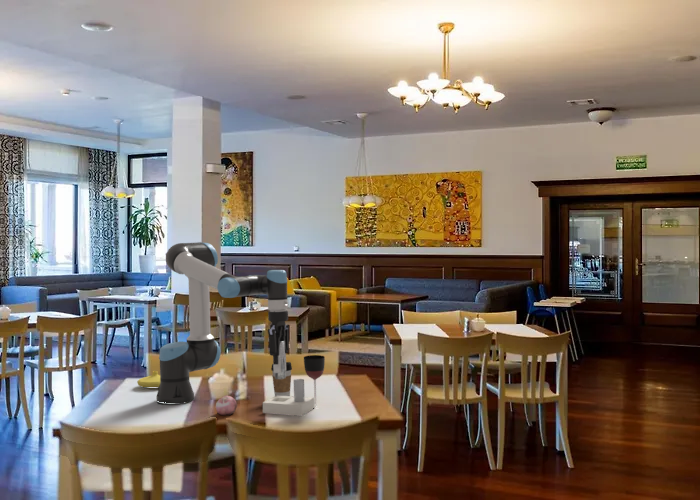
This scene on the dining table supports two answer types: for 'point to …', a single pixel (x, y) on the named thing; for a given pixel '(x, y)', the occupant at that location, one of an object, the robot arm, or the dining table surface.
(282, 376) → the pipe
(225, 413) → the red onion
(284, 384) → the coffee cup
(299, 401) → the socket block
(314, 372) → the wineglass
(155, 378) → the yellow knobbed lid
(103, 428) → the dining table surface
